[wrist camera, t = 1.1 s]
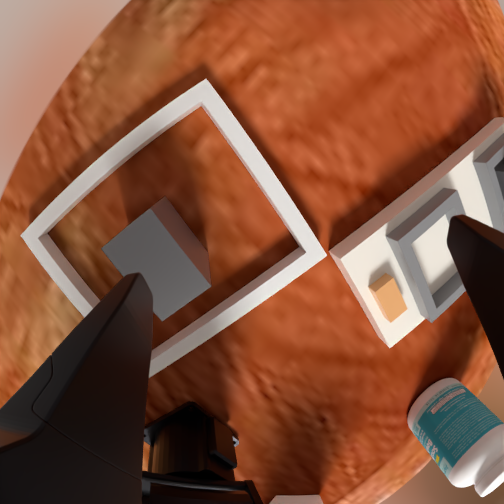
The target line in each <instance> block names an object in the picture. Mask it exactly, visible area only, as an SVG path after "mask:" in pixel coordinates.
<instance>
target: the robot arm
mask: <svg viewBox="0 0 504 504" xmlns="http://www.w3.org/2000/svg"><path fill="white" fill-rule="evenodd" d="M447 247H448V249H449V251H450V254H451V256H452V258H453V261H454V263H455V265H456V268H457V270H458V273H459V275H460V278H461V280H462V283H463V285H464V288H465V290H466V292H467V294H468V296H469V298H470V300H471V302H472V304H473V306H474V309H475V311H476V313H477V315H478V317H479V319H480V322H481V324H482V326H483V328H484V331H485V333H486V335H487V338H488V340H489V342H490V345H491V347H492V350H493V352H494V355H495V357H496V360H497V363H498V365H499V368H500V371H501V373H502V376H503V379H504V233H503V232H501V231H499V230H497V229H494V228H492V227H490V226H488V225H486V224H484V223H482V222H480V221H477V220H475V219H473V218H471V217H469V216H466V215H464V214H461V215H455V216H452V217H451V219H450V223H449V229H448V234H447ZM152 336H153V295H152V292H151V290H150V288H149V286H148V284H147V282H146V280H145V279H144V277H143V275H142V274H141V273H140V272H135V273H130V274H127V275H125V276H124V277H123V278H122V279H121V280H120V281H119V282H118V283H117V284H116V285H115V286H114V287H113V289H112V290H111V291H110V292H109V293H108V294H107V295H106V296H105V297H104V298H103V299H102V300H101V301H100V302H99V303H98V304H97V305H96V306H95V307H94V308H93V309H92V310H91V311H90V312H89V313H88V315H87V316H86V317H85V318H84V319H83V320H82V321H81V322H80V323H79V324H78V325H77V326H76V327H75V328H74V330H73V331H72V332H71V333H70V334H69V335H68V336H67V337H66V338H65V339H64V340H63V342H62V343H61V344H60V345H59V346H58V347H57V348H56V349H55V351H54V352H53V353H52V355H50V356H49V357H48V358H47V360H46V361H45V362H44V363H43V364H42V365H41V366H40V367H39V369H38V370H37V371H36V372H35V373H34V374H33V375H32V376H31V377H30V378H29V380H28V381H27V382H26V383H25V384H24V385H23V386H22V387H21V388H20V389H19V390H18V391H17V392H16V393H15V394H14V395H13V396H12V397H11V398H10V399H9V400H8V401H7V402H6V404H5V405H4V406H3V407H2V408H1V409H0V504H263V502H262V500H261V498H260V496H259V494H258V492H257V489H256V487H255V485H254V483H253V481H252V480H245V481H235V477H234V471H233V469H234V468H236V467H237V459H236V454H235V448H234V447H235V446H237V445H238V444H239V439H238V437H236V436H235V435H234V434H232V431H231V430H230V429H228V428H227V427H226V426H225V425H223V424H222V423H221V422H220V421H219V420H217V419H216V418H215V417H213V416H210V415H209V414H208V413H207V412H206V411H204V410H203V409H202V408H201V407H200V406H199V405H197V404H196V403H195V402H188V403H186V404H184V405H182V406H181V407H179V408H177V409H175V410H173V411H172V412H170V413H168V414H166V415H165V416H163V417H161V418H159V419H157V420H155V421H154V422H152V423H150V424H148V425H146V426H145V414H146V402H147V391H148V380H149V371H150V362H151V353H152ZM190 407H193V408H190ZM144 441H145V442H146V443H148V444H149V445H150V452H149V462H148V471H142V462H143V442H144Z"/></svg>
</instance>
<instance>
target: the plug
mask: <svg viewBox="0 0 504 504" xmlns="http://www.w3.org/2000/svg"><path fill="white" fill-rule="evenodd" d="M101 249H102V251H103V252H104V253H105V254H106V256H107V257H108V258H109V259H110V261H111V262H112V263H113V264H114V266H115V267H116V268H117V269H118V271H119V272H120V273H121V274H122V275H123V277H124V276H125V275H127V274H130V273H135V272H140V273H141V274H142V275H143V277H144V279H145V280H146V282H147V284H148V286H149V288H150V290H151V292H152V295H153V312H154V313H155V314H156V315H157V316H158V317H159V319H160V320H161V321H164V320H165V319H166V318H168V317H169V316H171V315H172V314H173V313H175V312H176V311H178V310H179V309H180V308H182V307H183V306H185V305H186V304H187V303H189V302H190V301H192V300H193V299H194V298H196V297H197V296H199V295H200V294H201V293H203V292H204V291H206V290H207V289H208V288H210V287H211V277H210V266H209V255H208V252H207V250H206V249H205V248H204V247H203V245H202V244H201V243H200V241H199V240H198V239H197V237H196V236H195V235H194V233H193V232H192V231H191V230H190V228H189V227H188V226H187V224H186V223H185V222H184V220H183V219H182V218H181V216H180V215H179V214H178V212H177V211H176V210H175V208H174V207H173V206H172V204H171V203H170V202H169V200H168V199H167V198H166V196H164V197H163V198H162V199H161V200H159V201H158V202H157V203H155V204H154V205H153V206H152V207H150V208H149V209H148V210H147V211H145V212H144V213H143V214H142V215H140V216H139V217H138V218H137V219H135V220H134V221H133V222H132V223H130V224H129V225H128V226H127V227H126V228H124V229H123V230H122V231H121V232H120V233H119V234H117V235H116V236H115V237H114V238H113V239H112V240H110V241H109V242H108V243H107V244H106V245H105V246H104V247H103V248H101Z"/></svg>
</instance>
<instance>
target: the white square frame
mask: <svg viewBox="0 0 504 504" xmlns="http://www.w3.org/2000/svg"><path fill="white" fill-rule="evenodd" d="M200 106H202V108H203V109H204V110H205V112H206V113H207V114H208V116H209V117H210V118H211V120H212V121H213V123H214V124H215V125H216V127H217V128H218V129H219V131H220V132H221V134H222V135H223V136H224V138H225V139H226V141H227V142H228V143H229V145H230V146H231V148H232V149H233V150H234V152H235V153H236V155H237V156H238V157H239V159H240V160H241V162H242V163H243V164H244V166H245V167H246V169H247V170H248V172H249V173H250V174H251V176H252V177H253V179H254V180H255V182H256V183H257V184H258V186H259V187H260V189H261V190H262V192H263V193H264V195H265V196H266V198H267V199H268V200H269V202H270V203H271V205H272V206H273V208H274V209H275V211H276V212H277V214H278V215H279V217H280V218H281V220H282V221H283V223H284V224H285V226H286V227H287V229H288V230H289V232H290V233H291V235H292V236H293V238H294V239H295V241H296V242H297V244H298V245H299V247H298V248H297V249H296V250H294V251H293V252H291V253H290V254H289V255H287V256H286V257H285V258H283V259H282V260H280V261H279V262H278V263H276V264H275V265H273V266H272V267H271V268H269V269H268V270H266V271H265V272H264V273H262V274H261V275H259V276H258V277H257V278H255V279H254V280H252V281H251V282H250V283H248V284H247V285H245V286H244V287H243V288H241V289H240V290H238V291H237V292H235V293H234V294H233V295H231V296H230V297H228V298H227V299H226V300H224V301H223V302H221V303H220V304H218V305H217V306H216V307H214V308H213V309H211V310H210V311H208V312H207V313H206V314H204V315H203V316H201V317H200V318H198V319H197V320H195V321H194V322H193V323H191V324H190V325H188V326H187V327H185V328H184V329H182V330H181V331H180V332H178V333H177V334H175V335H174V336H172V337H171V338H169V339H168V340H166V341H165V342H164V343H162V344H161V345H159V346H158V347H156V348H155V349H153V350H152V353H151V362H150V371H149V378H150V377H151V376H153V375H155V374H156V373H158V372H159V371H161V370H162V369H164V368H165V367H167V366H169V365H170V364H172V363H173V362H175V361H176V360H178V359H179V358H181V357H182V356H184V355H185V354H187V353H188V352H190V351H192V350H193V349H195V348H196V347H198V346H199V345H201V344H202V343H204V342H205V341H207V340H208V339H210V338H211V337H213V336H214V335H216V334H217V333H218V332H220V331H221V330H223V329H224V328H226V327H227V326H229V325H230V324H232V323H233V322H235V321H236V320H238V319H239V318H240V317H242V316H243V315H245V314H246V313H248V312H249V311H251V310H252V309H253V308H255V307H256V306H258V305H259V304H261V303H262V302H263V301H265V300H266V299H268V298H269V297H271V296H272V295H273V294H275V293H276V292H278V291H279V290H280V289H282V288H283V287H285V286H286V285H287V284H289V283H290V282H292V281H293V280H294V279H296V278H297V277H298V276H300V275H301V274H303V273H304V272H305V271H307V270H308V269H309V268H311V267H312V266H314V265H315V264H316V263H318V262H319V261H320V260H322V259H323V258H324V257H326V256H327V254H326V253H325V251H324V250H323V248H322V246H321V245H320V243H319V242H318V240H317V238H316V237H315V235H314V234H313V232H312V230H311V229H310V227H309V226H308V224H307V223H306V221H305V220H304V218H303V216H302V215H301V213H300V212H299V210H298V209H297V207H296V206H295V204H294V203H293V201H292V199H291V198H290V196H289V195H288V193H287V192H286V190H285V189H284V187H283V186H282V184H281V183H280V181H279V180H278V178H277V177H276V175H275V174H274V172H273V171H272V170H271V168H270V167H269V165H268V164H267V162H266V161H265V159H264V158H263V156H262V155H261V153H260V152H259V151H258V149H257V148H256V146H255V145H254V143H253V142H252V141H251V139H250V138H249V136H248V135H247V133H246V132H245V131H244V129H243V128H242V126H241V125H240V124H239V122H238V121H237V119H236V118H235V117H234V115H233V114H232V113H231V111H230V110H229V108H228V107H227V106H226V104H225V103H224V102H223V100H222V99H221V98H220V96H219V95H218V94H217V92H216V91H215V89H214V88H213V87H212V85H211V84H210V83H209V82H208V80H207V79H205V80H203V81H202V82H200V83H198V84H197V85H195V86H194V87H192V88H191V89H189V90H188V91H186V92H185V93H183V94H182V95H180V96H179V97H177V98H176V99H174V100H173V101H172V102H170V103H169V104H167V105H166V106H165V107H163V108H162V109H160V110H159V111H158V112H156V113H155V114H153V115H152V116H151V117H149V118H148V119H147V120H145V121H144V122H143V123H141V124H140V125H139V126H138V127H136V128H135V129H134V130H132V131H131V132H130V133H129V134H127V135H126V136H125V137H124V138H122V139H121V140H120V141H119V142H117V143H116V144H115V145H114V146H113V147H111V148H110V149H109V150H108V151H107V152H105V153H104V154H103V155H102V156H101V157H100V158H98V159H97V160H96V161H95V162H94V163H93V164H92V165H90V166H89V167H88V168H87V169H86V170H85V171H84V172H83V173H82V174H81V175H79V176H78V177H77V178H76V179H75V180H74V181H73V182H72V183H71V184H70V185H69V186H68V187H67V188H66V189H65V190H64V191H63V192H62V193H60V194H59V195H58V196H57V197H56V198H55V199H54V200H53V201H52V202H51V203H50V204H49V205H48V206H47V208H46V209H45V210H44V211H43V212H42V213H41V214H40V215H39V216H38V217H37V218H36V219H35V220H34V221H33V222H32V223H31V224H30V226H29V227H28V228H27V229H26V230H25V231H24V232H23V233H22V234H21V237H22V238H23V240H24V241H25V243H26V244H27V245H28V247H29V248H30V250H31V251H32V252H33V254H34V255H35V257H36V258H37V259H38V261H39V262H40V263H41V265H42V266H43V267H44V269H45V270H46V271H47V273H48V274H49V275H50V277H51V278H52V279H53V280H54V282H55V283H56V284H57V285H58V287H59V288H60V289H61V290H62V292H63V293H64V294H65V295H66V296H67V298H68V299H69V300H70V301H71V302H72V304H73V305H74V306H75V307H76V308H77V310H78V311H79V312H80V313H81V314H82V315H83V316H84V318H85V317H86V316H87V315H88V313H89V312H90V311H91V310H92V309H93V308H94V307H95V306H96V305H97V304H98V303H99V302H100V300H99V299H98V297H97V296H96V295H95V294H94V293H93V291H92V290H91V289H90V288H89V287H88V285H87V284H86V283H85V282H84V281H83V279H82V278H81V277H80V276H79V274H78V273H77V272H76V271H75V269H74V268H73V267H72V265H71V264H70V263H69V262H68V260H67V259H66V258H65V256H64V255H63V254H62V252H61V251H60V250H59V248H58V247H57V246H56V244H55V243H54V242H53V240H52V239H51V238H50V236H49V235H48V232H49V231H50V230H51V229H52V228H53V227H54V226H55V225H56V224H57V223H58V222H59V221H60V220H61V219H62V218H63V217H64V216H65V215H66V214H67V213H68V212H69V211H70V210H71V209H73V208H74V207H75V206H76V205H77V204H78V203H79V202H80V201H81V200H82V199H83V198H84V197H85V196H87V195H88V194H89V193H90V192H91V191H92V190H93V189H94V188H95V187H97V186H98V185H99V184H100V183H101V182H102V181H103V180H105V179H106V178H107V177H108V176H109V175H110V174H112V173H113V172H114V171H115V170H116V169H118V168H119V167H120V166H121V165H122V164H124V163H125V162H126V161H127V160H129V159H130V158H131V157H132V156H134V155H135V154H136V153H137V152H139V151H140V150H141V149H142V148H144V147H145V146H146V145H148V144H149V143H150V142H151V141H153V140H154V139H155V138H157V137H158V136H159V135H161V134H162V133H163V132H165V131H166V130H168V129H169V128H170V127H172V126H173V125H174V124H176V123H177V122H179V121H180V120H182V119H183V118H184V117H186V116H187V115H189V114H190V113H192V112H193V111H195V110H196V109H197V108H199V107H200Z"/></svg>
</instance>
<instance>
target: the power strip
mask: <svg viewBox="0 0 504 504" xmlns="http://www.w3.org/2000/svg"><path fill="white" fill-rule="evenodd" d="M503 158H504V117H496V118H494V119H493V120H491V121H490V122H489V123H488V124H487V125H486V126H485V127H483V128H482V129H481V130H480V131H479V132H478V133H476V134H475V135H474V136H473V137H472V138H471V139H469V140H468V141H467V142H466V143H465V144H463V145H462V146H461V147H460V148H459V149H458V150H456V151H455V152H454V153H453V154H452V155H450V156H449V157H448V158H447V159H445V160H444V161H443V162H442V163H441V164H439V165H438V166H437V167H436V168H435V169H433V170H432V171H431V172H430V173H428V174H427V175H426V176H425V177H423V178H422V179H421V180H420V181H418V182H417V183H416V184H415V185H413V186H412V187H411V188H410V189H408V190H407V191H406V192H405V193H403V194H402V195H401V196H400V197H398V198H397V199H396V200H395V201H393V202H392V203H391V204H389V205H388V206H387V207H386V208H384V209H383V210H382V211H380V212H379V213H378V214H377V215H375V216H374V217H373V218H371V219H370V220H369V221H367V222H366V223H365V224H364V225H362V226H361V227H360V228H358V229H357V230H356V231H354V232H353V233H352V234H350V235H349V236H348V237H346V238H345V239H344V240H342V241H341V242H340V243H338V244H337V245H336V246H334V247H333V248H332V249H330V250H329V253H330V254H331V256H332V258H333V259H334V261H335V263H336V264H337V266H338V268H339V269H340V271H341V273H342V274H343V276H344V278H345V279H346V281H347V283H348V284H349V286H350V288H351V290H352V291H353V293H354V295H355V296H356V298H357V300H358V302H359V303H360V305H361V307H362V309H363V310H364V312H365V314H366V316H367V317H368V319H369V321H370V323H371V325H372V326H373V328H374V330H375V332H376V334H377V335H378V337H379V338H380V339H381V340H382V341H383V342H384V343H385V344H386V345H387V346H388V347H389V348H391V347H392V346H393V345H395V344H396V343H397V342H398V341H399V340H401V339H402V338H403V337H404V336H406V335H407V334H408V333H409V332H410V331H412V330H413V329H414V328H415V327H416V326H417V325H419V324H420V323H421V322H422V321H423V320H424V319H425V318H426V319H427V320H428V321H430V322H431V323H432V322H433V321H434V320H435V319H436V318H438V317H439V316H440V315H441V314H442V313H443V312H444V311H445V310H446V309H447V308H448V307H449V306H450V305H451V304H453V303H454V302H455V301H456V300H457V299H458V298H459V297H460V296H461V295H462V294H463V293H464V292H465V291H466V290H465V288H464V285H463V283H462V280H461V278H460V275H459V273H458V270H457V268H456V265H455V263H454V261H453V258H452V256H451V254H450V251H449V249H448V247H447V234H448V229H449V223H450V219H451V217H452V216H455V215H461V214H464V215H466V216H469V217H471V218H473V219H475V220H477V221H480V222H482V223H484V224H486V225H488V226H490V227H492V228H494V229H497V230H499V231H501V232H503V233H504V200H503V196H502V192H501V189H500V185H499V182H498V179H497V176H496V172H495V169H494V167H495V166H496V165H497V164H498V163H499V162H500V161H501V160H502V159H503Z"/></svg>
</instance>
